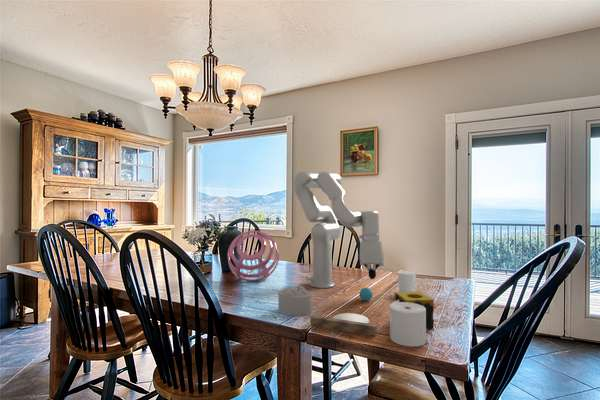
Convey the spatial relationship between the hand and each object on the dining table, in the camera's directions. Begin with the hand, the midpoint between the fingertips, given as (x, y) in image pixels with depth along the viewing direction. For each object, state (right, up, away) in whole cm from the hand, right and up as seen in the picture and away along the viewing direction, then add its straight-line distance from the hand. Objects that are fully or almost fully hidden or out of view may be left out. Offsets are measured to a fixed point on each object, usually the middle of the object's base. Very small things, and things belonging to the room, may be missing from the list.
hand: (372, 278), depth 149 cm
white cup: (+16, -8, +1) cm, 18 cm away
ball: (-5, -5, -8) cm, 10 cm away
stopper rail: (-19, -8, -40) cm, 45 cm away
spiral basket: (-59, -8, +30) cm, 66 cm away
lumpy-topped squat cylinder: (-34, -8, -21) cm, 41 cm away
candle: (+7, -8, -35) cm, 36 cm away
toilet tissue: (0, -8, -47) cm, 48 cm away
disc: (-15, -8, -31) cm, 35 cm away
